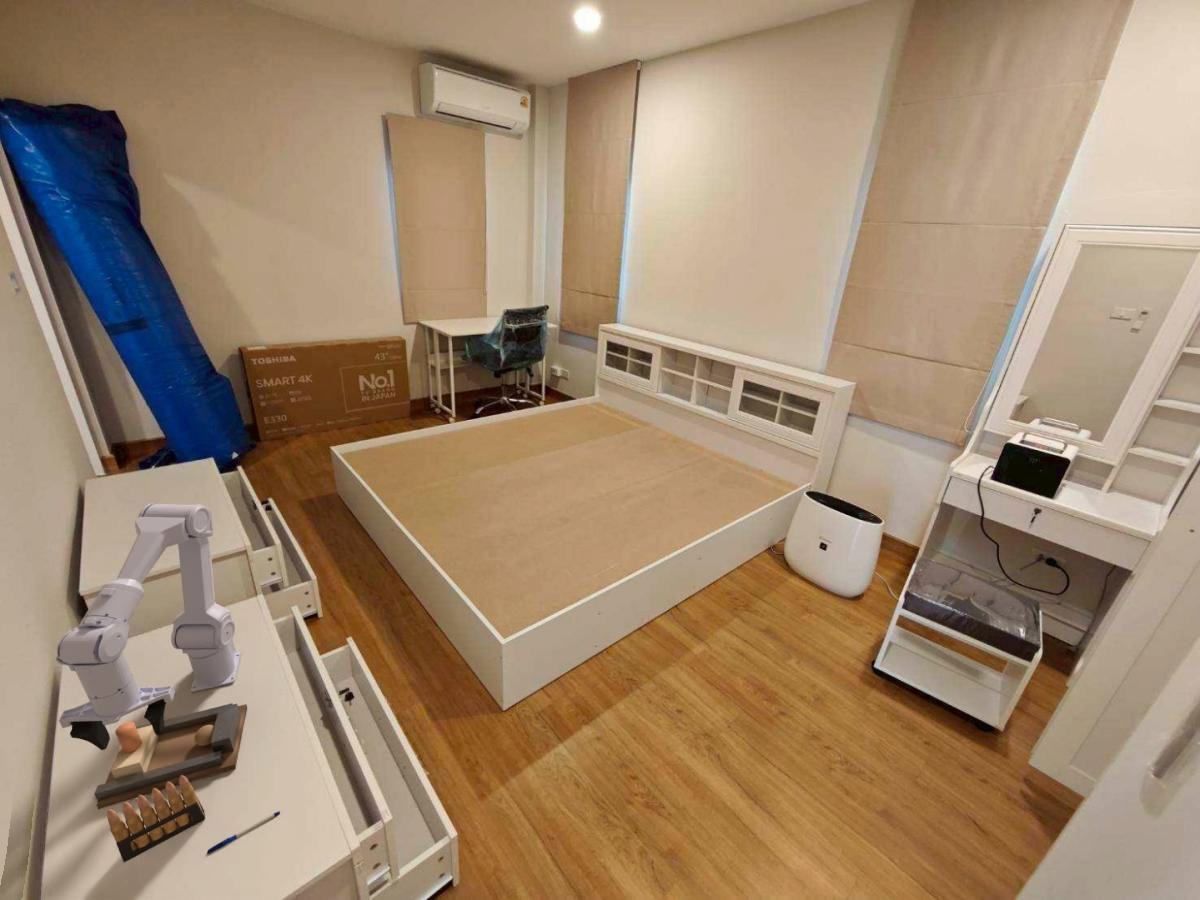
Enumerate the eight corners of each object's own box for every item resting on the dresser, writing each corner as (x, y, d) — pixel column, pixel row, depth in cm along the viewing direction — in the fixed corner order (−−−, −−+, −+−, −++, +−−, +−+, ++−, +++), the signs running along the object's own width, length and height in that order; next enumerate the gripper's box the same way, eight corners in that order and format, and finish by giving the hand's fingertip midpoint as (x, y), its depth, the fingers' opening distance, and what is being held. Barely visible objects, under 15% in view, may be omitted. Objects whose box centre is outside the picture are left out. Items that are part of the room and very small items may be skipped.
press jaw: (132, 743, 96) (118, 713, 93) (158, 736, 98) (146, 706, 95) (116, 783, 90) (101, 752, 86) (145, 775, 92) (131, 744, 88)
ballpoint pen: (208, 857, 83) (206, 853, 82) (207, 852, 83) (205, 849, 83) (280, 814, 90) (279, 811, 89) (279, 810, 90) (278, 807, 90)
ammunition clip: (204, 810, 89) (187, 767, 84) (205, 819, 88) (188, 776, 83) (123, 852, 82) (100, 808, 77) (123, 863, 81) (100, 819, 76)
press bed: (126, 739, 99) (119, 721, 97) (247, 707, 107) (242, 691, 105) (98, 809, 87) (88, 790, 85) (235, 768, 96) (229, 750, 94)
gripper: (39, 718, 78) (69, 772, 83) (157, 689, 84) (178, 742, 90) (59, 682, 84) (86, 736, 89) (169, 658, 90) (187, 710, 95)
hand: (133, 737), depth 90 cm, fingers open, 7 cm apart
